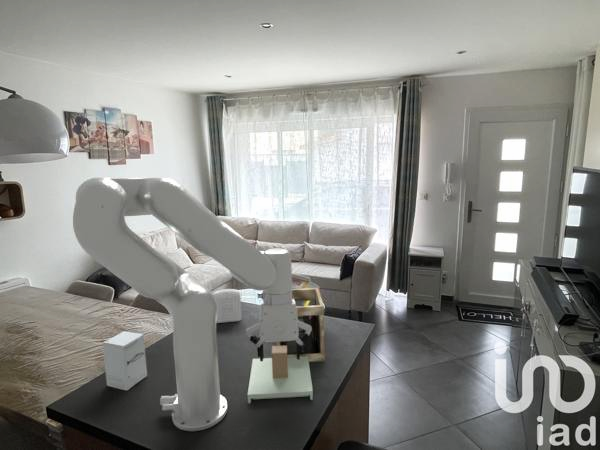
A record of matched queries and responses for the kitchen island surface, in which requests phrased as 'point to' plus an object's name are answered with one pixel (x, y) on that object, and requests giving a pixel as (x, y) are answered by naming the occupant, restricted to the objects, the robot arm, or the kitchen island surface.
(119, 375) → the supplement box
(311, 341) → the tampon box
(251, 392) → the lid
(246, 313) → the kitchen island surface
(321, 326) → the crate
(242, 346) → the kitchen island surface
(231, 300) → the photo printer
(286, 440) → the kitchen island surface
